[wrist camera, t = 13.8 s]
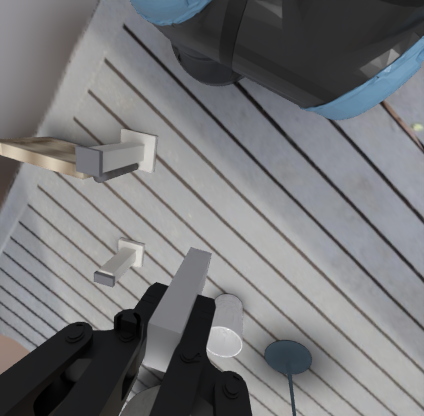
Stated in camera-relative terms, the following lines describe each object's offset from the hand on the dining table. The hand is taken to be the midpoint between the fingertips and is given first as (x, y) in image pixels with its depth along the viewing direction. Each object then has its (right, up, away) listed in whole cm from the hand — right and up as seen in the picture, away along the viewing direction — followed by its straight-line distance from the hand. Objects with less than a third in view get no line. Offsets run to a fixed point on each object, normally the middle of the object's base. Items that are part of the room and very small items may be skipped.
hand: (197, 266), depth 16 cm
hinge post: (-13, +15, +29) cm, 36 cm away
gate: (-23, +15, +30) cm, 40 cm away
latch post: (-18, -6, +38) cm, 42 cm away
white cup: (+5, -19, +38) cm, 42 cm away
